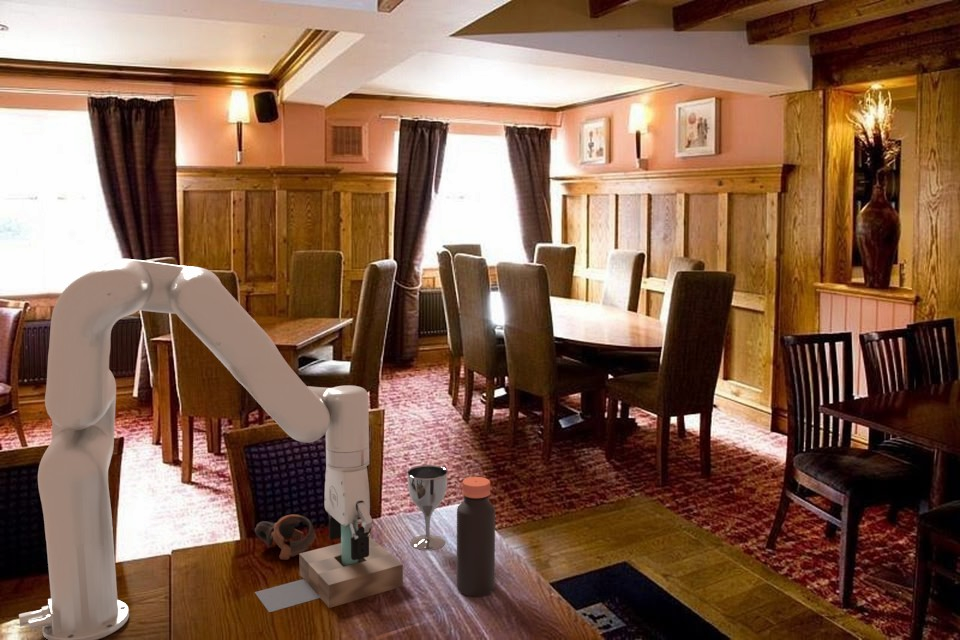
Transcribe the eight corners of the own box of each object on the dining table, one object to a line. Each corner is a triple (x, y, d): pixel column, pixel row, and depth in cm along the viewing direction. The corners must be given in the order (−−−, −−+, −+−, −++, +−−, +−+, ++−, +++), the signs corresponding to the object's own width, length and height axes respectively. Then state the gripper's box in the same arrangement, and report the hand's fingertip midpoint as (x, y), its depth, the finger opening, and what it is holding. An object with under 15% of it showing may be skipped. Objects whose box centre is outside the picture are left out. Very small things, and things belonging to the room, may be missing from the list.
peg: (346, 588, 140) (344, 524, 138) (339, 581, 142) (338, 518, 141) (361, 583, 142) (360, 520, 140) (354, 576, 144) (353, 515, 142)
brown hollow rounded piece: (316, 540, 161) (322, 514, 156) (305, 578, 153) (311, 553, 148) (258, 527, 159) (262, 501, 155) (244, 565, 152) (248, 539, 147)
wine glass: (454, 539, 160) (455, 469, 158) (432, 554, 153) (431, 481, 151) (423, 531, 164) (423, 462, 162) (400, 544, 157) (399, 473, 155)
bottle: (490, 599, 136) (491, 489, 133) (452, 595, 138) (452, 486, 134) (497, 581, 143) (498, 476, 140) (461, 577, 144) (461, 473, 141)
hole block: (329, 609, 132) (328, 585, 132) (299, 576, 144) (299, 553, 143) (402, 588, 140) (402, 564, 139) (369, 558, 152) (368, 536, 151)
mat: (269, 614, 131) (269, 612, 131) (254, 594, 137) (254, 592, 137) (325, 598, 136) (325, 596, 136) (308, 579, 143) (308, 577, 143)
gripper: (309, 446, 143) (311, 534, 146) (347, 474, 129) (349, 571, 132) (347, 440, 147) (348, 526, 150) (388, 466, 133) (389, 561, 136)
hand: (348, 547), depth 141 cm, fingers open, 9 cm apart
